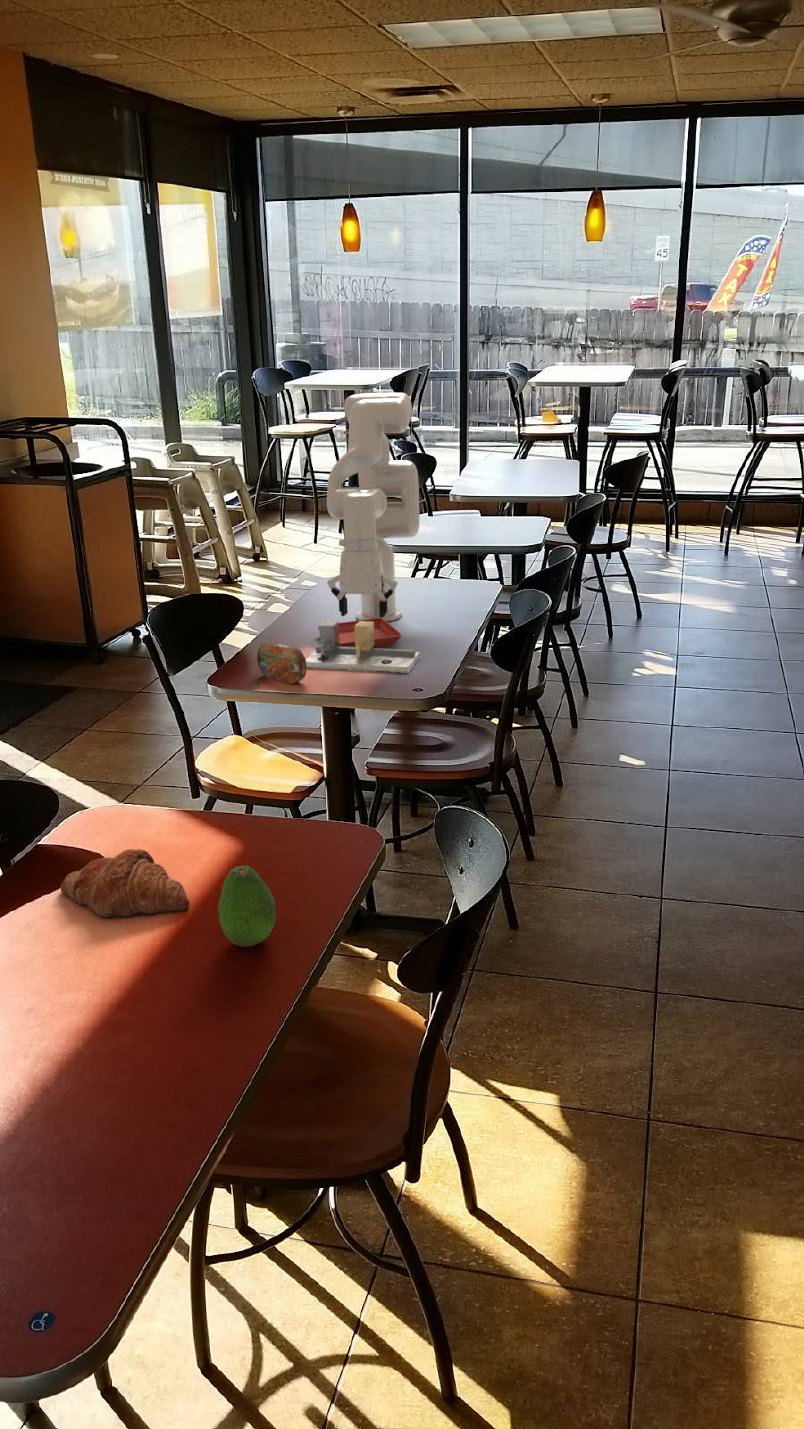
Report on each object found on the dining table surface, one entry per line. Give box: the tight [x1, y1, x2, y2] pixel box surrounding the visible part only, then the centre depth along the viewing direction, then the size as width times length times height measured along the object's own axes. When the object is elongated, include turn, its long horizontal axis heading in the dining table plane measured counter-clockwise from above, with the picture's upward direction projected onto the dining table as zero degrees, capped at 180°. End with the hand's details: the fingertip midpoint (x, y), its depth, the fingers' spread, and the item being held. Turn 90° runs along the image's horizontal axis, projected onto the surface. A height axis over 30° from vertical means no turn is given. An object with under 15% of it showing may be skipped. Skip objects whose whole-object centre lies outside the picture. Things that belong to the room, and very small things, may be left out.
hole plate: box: [305, 620, 421, 674], centre depth 277 cm, size 12×26×9 cm, turn 76°
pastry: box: [59, 848, 190, 920], centre depth 171 cm, size 17×15×8 cm
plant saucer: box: [316, 618, 403, 648], centre depth 296 cm, size 18×18×3 cm
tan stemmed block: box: [355, 621, 375, 659], centre depth 278 cm, size 9×4×7 cm, turn 166°
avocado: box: [217, 864, 277, 948], centre depth 158 cm, size 8×8×12 cm
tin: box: [256, 642, 307, 685], centre depth 267 cm, size 15×3×8 cm, turn 47°
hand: (363, 615), depth 277 cm, fingers open, 9 cm apart
